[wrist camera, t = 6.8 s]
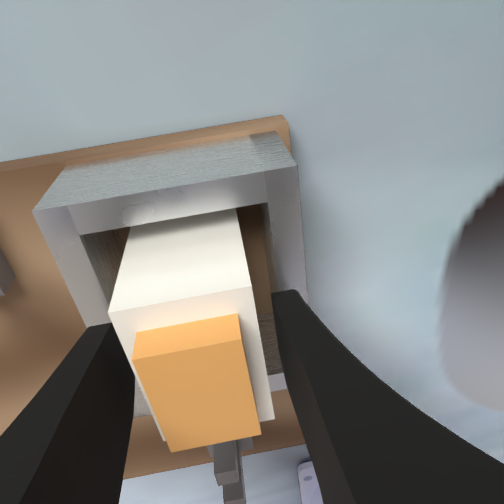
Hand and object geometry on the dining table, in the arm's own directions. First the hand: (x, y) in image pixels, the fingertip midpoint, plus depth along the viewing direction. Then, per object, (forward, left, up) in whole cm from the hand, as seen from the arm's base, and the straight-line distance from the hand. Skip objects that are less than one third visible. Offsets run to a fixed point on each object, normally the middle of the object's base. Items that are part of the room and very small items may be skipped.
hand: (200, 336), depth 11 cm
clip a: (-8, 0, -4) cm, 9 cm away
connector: (0, 0, -4) cm, 4 cm away
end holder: (0, 0, -4) cm, 4 cm away
